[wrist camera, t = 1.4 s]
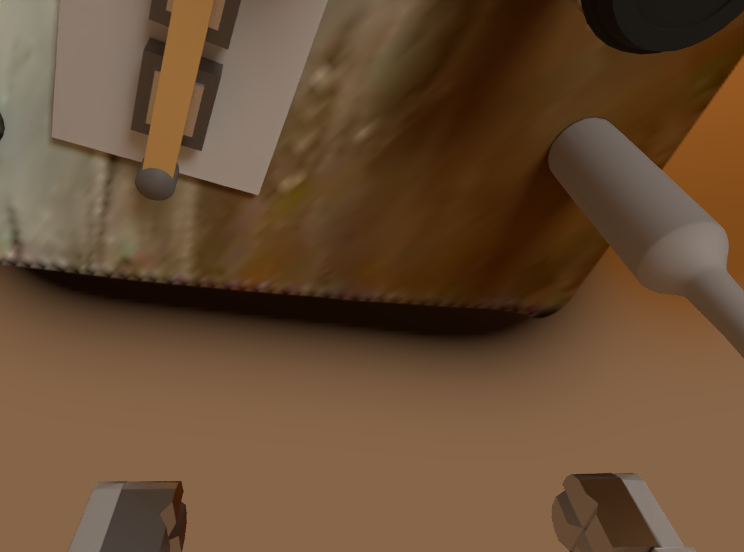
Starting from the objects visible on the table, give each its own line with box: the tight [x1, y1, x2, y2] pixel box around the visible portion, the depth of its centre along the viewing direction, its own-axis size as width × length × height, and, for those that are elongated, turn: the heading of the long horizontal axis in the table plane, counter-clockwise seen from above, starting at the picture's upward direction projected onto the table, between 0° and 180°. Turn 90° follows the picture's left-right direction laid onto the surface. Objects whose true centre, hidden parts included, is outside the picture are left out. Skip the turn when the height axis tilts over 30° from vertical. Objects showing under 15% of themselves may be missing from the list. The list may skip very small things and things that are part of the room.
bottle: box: [548, 117, 744, 358], centre depth 38 cm, size 7×7×28 cm
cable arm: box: [135, 0, 214, 201], centre depth 31 cm, size 22×4×2 cm, turn 155°
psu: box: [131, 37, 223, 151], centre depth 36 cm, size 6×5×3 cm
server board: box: [52, 0, 328, 195], centre depth 34 cm, size 24×16×4 cm, turn 155°
